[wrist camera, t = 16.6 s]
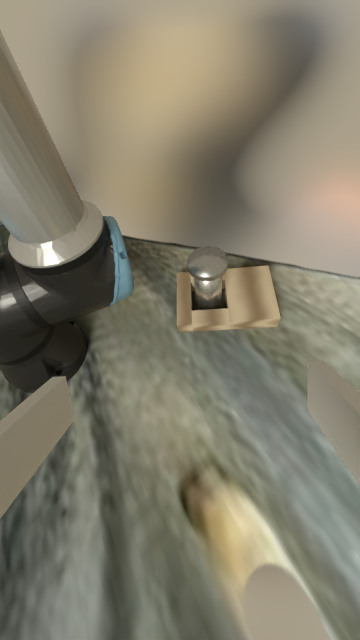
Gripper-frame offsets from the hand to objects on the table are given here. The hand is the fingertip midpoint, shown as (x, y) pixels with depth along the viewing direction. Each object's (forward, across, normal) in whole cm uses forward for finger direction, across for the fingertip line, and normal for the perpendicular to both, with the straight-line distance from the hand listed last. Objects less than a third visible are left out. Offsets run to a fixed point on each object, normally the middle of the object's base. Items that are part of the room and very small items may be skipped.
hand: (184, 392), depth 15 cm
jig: (+40, +6, -3) cm, 40 cm away
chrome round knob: (+40, +2, -3) cm, 40 cm away
